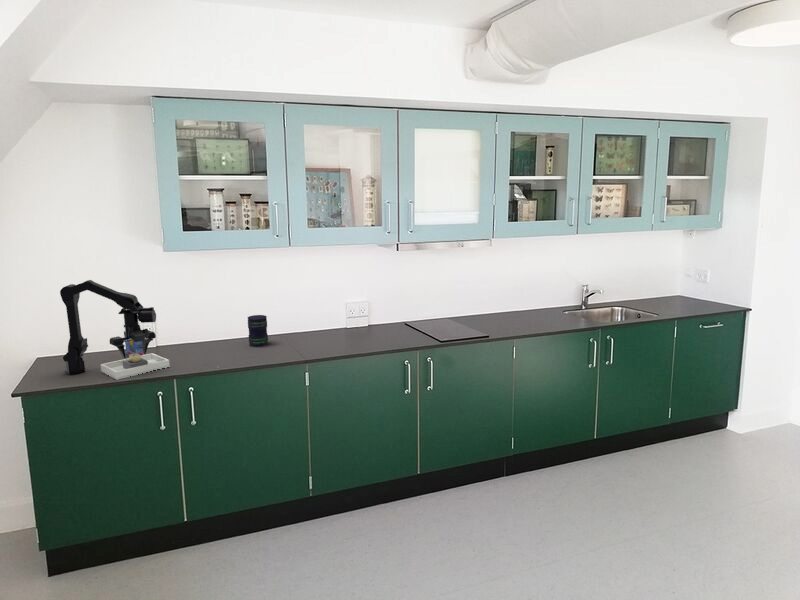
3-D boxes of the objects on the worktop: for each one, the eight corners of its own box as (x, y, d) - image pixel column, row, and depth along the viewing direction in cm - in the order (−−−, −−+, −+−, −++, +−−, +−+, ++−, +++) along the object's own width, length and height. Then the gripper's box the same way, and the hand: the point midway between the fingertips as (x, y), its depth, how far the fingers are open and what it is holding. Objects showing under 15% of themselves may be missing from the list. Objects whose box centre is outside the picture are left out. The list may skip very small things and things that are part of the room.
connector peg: (130, 367, 276) (128, 354, 275) (137, 365, 279) (136, 353, 277) (133, 369, 274) (132, 356, 272) (141, 367, 276) (140, 354, 275)
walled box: (116, 379, 262) (115, 370, 261) (101, 371, 273) (100, 363, 273) (169, 367, 279) (168, 358, 278) (153, 360, 291) (152, 352, 290)
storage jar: (245, 346, 312) (244, 318, 310) (253, 342, 322) (251, 314, 319) (264, 347, 311) (262, 319, 308) (271, 342, 320) (269, 315, 318)
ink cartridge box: (125, 355, 300) (122, 326, 297) (136, 352, 304) (133, 324, 301) (135, 358, 294) (132, 329, 291) (146, 356, 298) (143, 327, 295)
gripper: (117, 329, 260) (121, 364, 263) (159, 322, 273) (162, 355, 276) (107, 325, 267) (111, 359, 270) (148, 318, 281) (151, 350, 284)
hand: (134, 356), depth 275 cm, fingers open, 9 cm apart
